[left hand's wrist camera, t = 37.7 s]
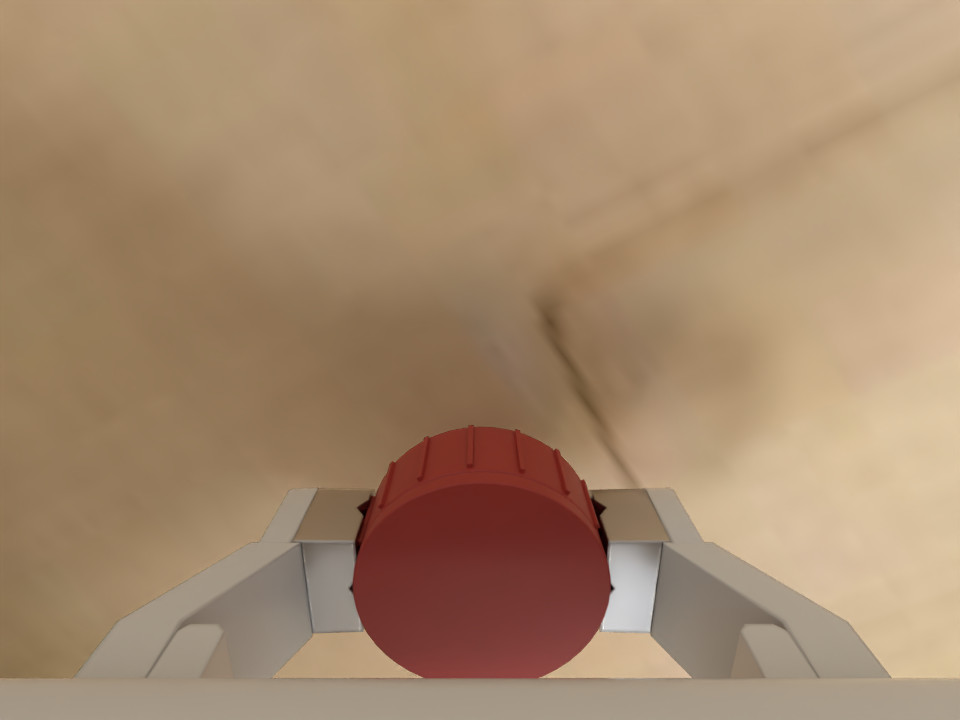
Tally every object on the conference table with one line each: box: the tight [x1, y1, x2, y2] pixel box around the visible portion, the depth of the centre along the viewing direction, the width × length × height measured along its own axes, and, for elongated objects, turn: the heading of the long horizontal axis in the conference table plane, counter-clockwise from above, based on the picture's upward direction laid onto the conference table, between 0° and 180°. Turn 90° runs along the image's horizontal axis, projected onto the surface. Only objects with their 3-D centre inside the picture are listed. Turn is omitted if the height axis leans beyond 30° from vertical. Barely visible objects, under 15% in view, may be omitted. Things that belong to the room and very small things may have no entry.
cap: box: [353, 425, 611, 678], centre depth 9 cm, size 4×4×2 cm
